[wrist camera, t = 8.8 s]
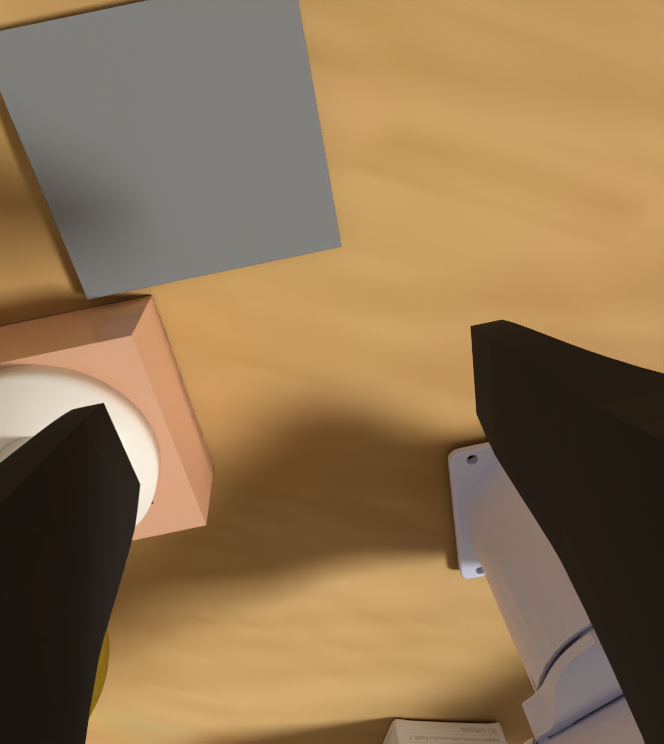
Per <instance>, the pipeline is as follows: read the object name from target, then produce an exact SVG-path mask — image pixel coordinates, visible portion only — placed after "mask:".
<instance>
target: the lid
mask: <svg viewBox="0 0 664 744" xmlns="http://www.w3.org/2000/svg"><path fill="white" fill-rule="evenodd" d="M100 403H104V404H105V406H106V409H107V411H108V413H109V415H110V418H111V420H112V422H113V424H114V427H115V429H116V431H117V433H118V435H119V438H120V440H121V442H122V444H123V447H124V449H125V451H126V453H127V455H128V458H129V460H130V462H131V464H132V467H133V469H134V471H135V473H136V475H137V478H138V480H139V482H140V493H139V502H138V511H137V518H136V525H137V524H138V523H139V522H140V521H141V520H142V519H143V517H144V516H145V514H146V513H147V511H148V509H149V507H150V505H151V503H152V500H153V496H154V493H155V489H156V485H157V482H158V478H159V474H160V465H161V460H160V450H159V445H158V441H157V439H156V436H155V434H154V431H153V429H152V428H151V426H150V424H149V422H148V421H147V419H146V418H145V417H144V415H143V414H142V413H141V411H140V410H139V409H138V408H137V407H136V406H135V405H134V404H133V403H132V402H131V401H130V400H129V399H128V398H127V397H125V396H124V395H123V394H122V393H120V392H119V391H118V390H116V389H114V388H113V387H111V386H110V385H108V384H107V383H105V382H103V381H100V380H98V379H96V378H94V377H92V376H90V375H87V374H84V373H81V372H79V371H75V370H71V369H67V368H63V367H57V366H50V365H34V364H30V365H16V366H11V367H5V368H1V369H0V462H2V461H3V460H4V459H5V458H7V457H8V456H9V455H10V454H12V453H13V452H14V451H16V450H17V449H18V448H19V447H21V446H22V445H23V444H24V443H26V442H27V441H28V440H30V439H31V438H32V437H33V436H35V435H36V434H37V433H39V432H40V431H41V430H43V429H44V428H45V427H47V426H48V425H49V424H51V423H52V422H53V421H55V420H56V419H58V418H59V417H61V416H62V415H64V414H65V413H67V412H69V411H70V410H72V409H76V408H80V407H85V406H90V405H95V404H100ZM136 525H135V526H136Z"/></svg>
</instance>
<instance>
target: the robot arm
mask: <svg viewBox="0 0 664 744" xmlns="http://www.w3.org/2000/svg"><path fill="white" fill-rule="evenodd" d="M471 339H472V354H473V368H474V383H475V398H476V413H477V416H478V419H479V421H480V423H481V426H482V428H483V430H484V433H485V435H486V437H487V439H488V442H486V443H482V444H477V445H472V446H467V447H462V448H458V449H455V450H453V451H452V452H451V453H450V454H449V456H448V467H449V477H450V487H451V496H452V506H453V516H454V526H455V536H456V545H457V555H458V565H459V570H460V573H461V576H462V577H464V578H467V579H471V578H476V577H481V576H486V578H487V581H488V583H489V585H490V588H491V590H492V593H493V595H494V597H495V600H496V602H497V604H498V607H499V609H500V611H501V614H502V616H503V618H504V621H505V623H506V625H507V628H508V630H509V632H510V635H511V637H512V639H513V642H514V644H515V647H516V649H517V651H518V654H519V656H520V658H521V661H522V663H523V665H524V668H525V670H526V672H527V675H528V677H529V679H530V682H531V684H532V686H533V689H534V691H535V694H534V695H532V696H531V697H530V698H528V699H527V700H525V701H524V702H523V703H522V707H523V709H524V712H525V714H526V717H527V719H528V722H529V724H530V727H531V729H532V732H533V734H534V738H531V739H529V740H527V741H526V742H525V743H524V744H664V373H660V372H656V371H652V370H649V369H645V368H641V367H638V366H634V365H631V364H628V363H625V362H622V361H618V360H615V359H612V358H609V357H605V356H603V355H600V354H597V353H594V352H591V351H588V350H585V349H582V348H580V347H577V346H574V345H571V344H569V343H566V342H563V341H561V340H558V339H556V338H553V337H550V336H548V335H545V334H543V333H540V332H537V331H535V330H532V329H529V328H527V327H524V326H521V325H519V324H516V323H513V322H509V321H505V320H498V321H493V322H488V323H484V324H479V325H474V326H471ZM471 455H475V456H474V457H473V458H471V459H467V458H468V457H469V456H471ZM139 493H140V482H139V480H138V478H137V475H136V473H135V471H134V469H133V467H132V464H131V462H130V460H129V458H128V455H127V453H126V451H125V449H124V447H123V444H122V442H121V440H120V438H119V435H118V433H117V431H116V429H115V427H114V424H113V422H112V420H111V418H110V415H109V413H108V411H107V409H106V406H105V404H104V403H100V404H95V405H90V406H85V407H80V408H76V409H72V410H70V411H69V412H67V413H65V414H64V415H62V416H61V417H59V418H58V419H56V420H55V421H53V422H52V423H51V424H49V425H48V426H47V427H45V428H44V429H43V430H41V431H40V432H39V433H37V434H36V435H35V436H33V437H32V438H31V439H30V440H28V441H27V442H26V443H24V444H23V445H22V446H21V447H19V448H18V449H17V450H16V451H14V452H13V453H12V454H10V455H9V456H8V457H7V458H5V459H4V460H3V461H2V462H0V744H85V741H86V734H87V727H88V720H89V714H90V708H91V702H92V696H93V690H94V685H95V679H96V673H97V667H98V662H99V657H100V653H101V649H102V645H103V640H104V636H105V633H106V629H107V626H108V622H109V619H110V615H111V612H112V608H113V605H114V602H115V598H116V595H117V591H118V588H119V584H120V581H121V577H122V574H123V570H124V567H125V563H126V560H127V556H128V553H129V549H130V545H131V542H132V538H133V534H134V530H135V525H136V518H137V511H138V502H139ZM480 566H481V567H480ZM478 567H479V568H478Z"/></svg>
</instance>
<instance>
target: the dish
mask: <svg viewBox="0 0 664 744" xmlns="http://www.w3.org/2000/svg"><path fill="white" fill-rule="evenodd" d="M30 364H34V365H50V366H57V367H63V368H67V369H71V370H75V371H79V372H81V373H84V374H87V375H90V376H92V377H94V378H96V379H98V380H100V381H103V382H105V383H107V384H108V385H110V386H111V387H113V388H114V389H116V390H118V391H119V392H120V393H122V394H123V395H124V396H125V397H127V398H128V399H129V400H130V401H131V402H132V403H133V404H134V405H135V406H136V407H137V408H138V409H139V410H140V411H141V413H142V414H143V415H144V417H145V418H146V419H147V421H148V422H149V424H150V426H151V428H152V429H153V431H154V434H155V436H156V439H157V441H158V445H159V450H160V460H161V465H160V474H159V478H158V482H157V485H156V489H155V493H154V496H153V500H152V503H151V505H150V507H149V509H148V511H147V513H146V514H145V516H144V517H143V519H142V520H141V521H140V522H139V523H138V524H137V525H136V526H135V530H134V534H133V538H132V541H133V540H138V539H142V538H147V537H152V536H157V535H162V534H166V533H171V532H176V531H181V530H186V529H190V528H195V527H200V526H205V525H206V523H207V516H208V508H209V501H210V493H211V486H212V478H213V471H214V466H213V463H212V460H211V458H210V455H209V452H208V449H207V446H206V444H205V441H204V438H203V435H202V433H201V430H200V427H199V424H198V421H197V419H196V416H195V413H194V410H193V408H192V405H191V402H190V399H189V396H188V394H187V391H186V388H185V385H184V383H183V380H182V377H181V374H180V371H179V369H178V366H177V363H176V360H175V358H174V355H173V352H172V349H171V346H170V344H169V341H168V338H167V335H166V332H165V330H164V327H163V324H162V321H161V319H160V316H159V313H158V310H157V307H156V305H155V302H154V299H153V296H152V295H150V296H145V297H140V298H135V299H131V300H126V301H121V302H116V303H111V304H107V305H102V306H97V307H92V308H87V309H83V310H78V311H73V312H68V313H63V314H59V315H54V316H49V317H44V318H40V319H35V320H30V321H25V322H20V323H16V324H11V325H6V326H1V327H0V369H1V368H5V367H11V366H16V365H30Z"/></svg>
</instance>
